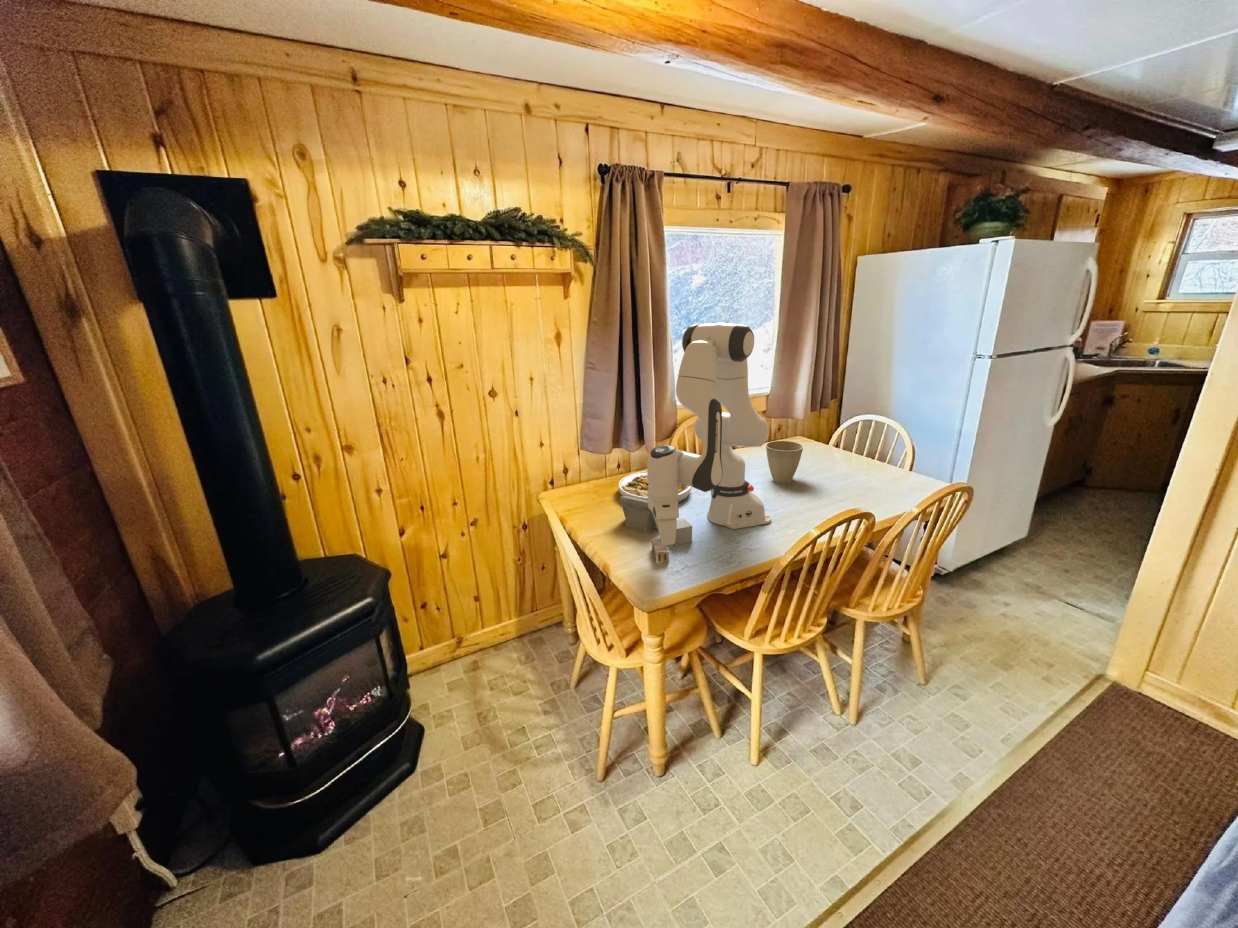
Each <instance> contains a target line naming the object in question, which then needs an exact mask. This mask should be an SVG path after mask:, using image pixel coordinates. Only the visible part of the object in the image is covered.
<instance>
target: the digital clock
mask: <svg viewBox="0 0 1238 928" xmlns="http://www.w3.org/2000/svg"><path fill="white" fill-rule="evenodd" d="M619 501H620V504H621V505H620V506H621V508H622V511H623V515H624V518H625V528H628V529H632V530H636V531H639V532H642V533H646V534H647V533H649V532H650V531H651V530H652V529H654V528H655V529H657V526H656V522H655V519H654V516H653V512H652V511H651V510H650V509H649V508H648V501H645V500H640V499H636V498H632V497H627V496H622V495H621V496H620V498H619Z"/></svg>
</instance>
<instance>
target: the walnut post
mask: <svg viewBox="0 0 1238 928" xmlns="http://www.w3.org/2000/svg"><path fill="white" fill-rule="evenodd" d="M651 546H652V547H651V548H652V553H653V557H654V560H655V561H654V562H655V564H667V563H670V551H669V546H668V545H664V546H662V545H661V542H660V537H659V538H658V537H657V538H651Z"/></svg>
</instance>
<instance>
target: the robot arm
mask: <svg viewBox="0 0 1238 928" xmlns="http://www.w3.org/2000/svg"><path fill="white" fill-rule="evenodd" d="M681 341H682V342H681V346H682V350H683V352H684V353H683V355H682V359H681V362H680V365H679V369H678V374H677V375H678V376H677V379H676V386H675V393H676V398H677V400H678V402H679V403H680V405H682V407H684V408H685V409H687V410H688V411H689V412H691V413H692V414H694V415H695V416H696V419H695V422H694V426H693V430H694V434H695V435H696V438H698V440H700V441H701V442H702V453H701V454H699V453H698V454H697V453H694V452H690V451H686V450H682V449H676V448H675V447H674V446H672V445H667V444H662V445H658V446H655V447H653V448H652V449H651V450H650V452H649V454H648V460H647V466H646V468H647V469H646V471H647V479H648V482H649V488H648V508H649V509H650V510H651V511H652V512H653V516H654V519H655V522H656V526H657V528H656V529H657V532H658V535H659V538H660V542H661V545H662V546H664V545H667V546H671V545H675V544H674V543H675V539H676V528H677V520H678V519H679V517H680V512H679V511H680V510H679V502H678V488H677V484H679V483H680V484H684V485H687V486H691V488H694V489H696V490H699V491H701V492H703V493H707V492H709V491H710V495H711V498H710V505H709V508H708V512H707V514H706V517H707V519H708V520H709V521H710V522H711V523H713V524H716V525H720V526H724V527H727V528H728V529H732V530H737V529H743V528H748V527H754V526H755V527H756V526H760V525H767V524H771V522H772V517H771V514H770V513H769V512H768V511H767V510H766V509H765V505H764V502H763V501H762V499H761V497H759V496H758V495H756V494H755V493H753V491H754V490H755V487H754V486H753V485H752V484H750V482H748V481H747V480H746V479H745V477H746V462H745V460H744V458H743V457H742V456H741V455H740V454H739V453H737V452H736V451H735V450H734V449H733V448H732V446H733V447H742V448H759V447H762V446H763V445H765V444H766V443H767V440H768V438H769V436H770V426H769V424H768V421H767V420H766V419H765V418H764V417H762V416H761V415H760V414H759V413H758V411H756V409H755V407H754V406H753V404H752V402H751V399H750V396H749V395H750V394H749V382H748V381H749V368H748V367H749V366H748V357H750V356H751V354H752V353H753V350H754V345H755V334H754V332H753V330H752V329H751V328H750V326H748V325H744V324H740V323H737V324H735V323H726V322H717V323H696V324H692V325H689V326H688V327H687V328H686V329H685V331H684V332H683V335H682V339H681ZM722 406H723V407H722ZM723 408H725V409H726V410H727V412H724V411H723V410H722V409H723Z"/></svg>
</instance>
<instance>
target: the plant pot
mask: <svg viewBox="0 0 1238 928" xmlns="http://www.w3.org/2000/svg"><path fill="white" fill-rule="evenodd" d="M765 448H766V457H767V465H768V468H769V471H770V475H771V478H772V481H773V482H774V483H776V484H777V483H778V484H789V483H790V484H791V482H792V480H793V478H794V476H795V474H796V471H797V469H798V467H799V465H800V461H801V458H802V453H803V450H804V445H803V444H802V443H799V442H796V441H793V440H792V441H791V440H773V441H769V442H766V443H765Z"/></svg>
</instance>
